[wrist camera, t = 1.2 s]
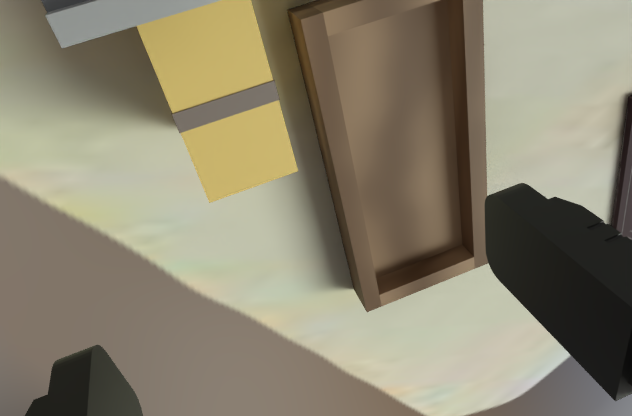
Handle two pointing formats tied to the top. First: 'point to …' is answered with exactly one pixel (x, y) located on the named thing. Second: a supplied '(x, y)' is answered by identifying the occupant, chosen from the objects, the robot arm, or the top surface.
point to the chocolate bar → (624, 181)
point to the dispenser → (107, 16)
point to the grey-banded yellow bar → (221, 95)
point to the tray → (400, 135)
